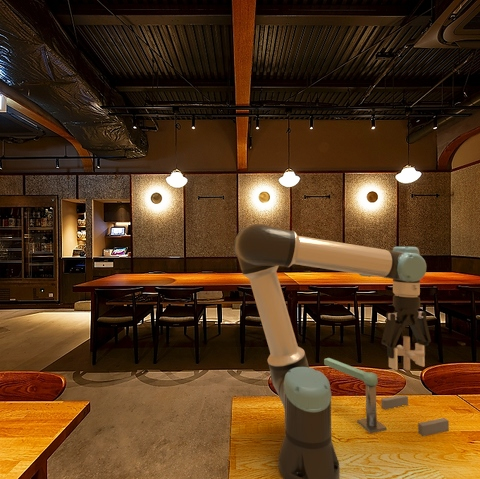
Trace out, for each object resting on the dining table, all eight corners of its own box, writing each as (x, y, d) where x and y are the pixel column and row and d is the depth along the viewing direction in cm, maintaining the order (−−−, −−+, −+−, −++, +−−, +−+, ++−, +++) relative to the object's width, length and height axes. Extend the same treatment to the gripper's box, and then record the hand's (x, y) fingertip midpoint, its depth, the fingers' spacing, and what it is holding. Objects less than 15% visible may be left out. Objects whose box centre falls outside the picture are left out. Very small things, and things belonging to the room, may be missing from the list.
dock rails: (422, 436, 89) (422, 425, 89) (381, 407, 105) (381, 398, 105) (448, 430, 91) (448, 420, 91) (404, 403, 108) (404, 394, 108)
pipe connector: (415, 363, 98) (414, 333, 98) (432, 376, 88) (432, 342, 88) (383, 362, 99) (383, 332, 99) (397, 374, 89) (397, 341, 89)
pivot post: (370, 433, 90) (369, 388, 91) (357, 422, 96) (356, 380, 96) (386, 430, 92) (385, 386, 92) (373, 419, 98) (372, 378, 98)
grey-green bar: (380, 383, 94) (379, 375, 94) (372, 386, 92) (372, 378, 92) (330, 363, 111) (330, 356, 111) (322, 365, 109) (322, 358, 109)
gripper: (386, 298, 87) (386, 375, 86) (444, 296, 94) (445, 367, 93) (368, 294, 94) (368, 365, 94) (423, 292, 101) (423, 359, 100)
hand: (406, 366), depth 93 cm, fingers closed on pipe connector, 10 cm apart
